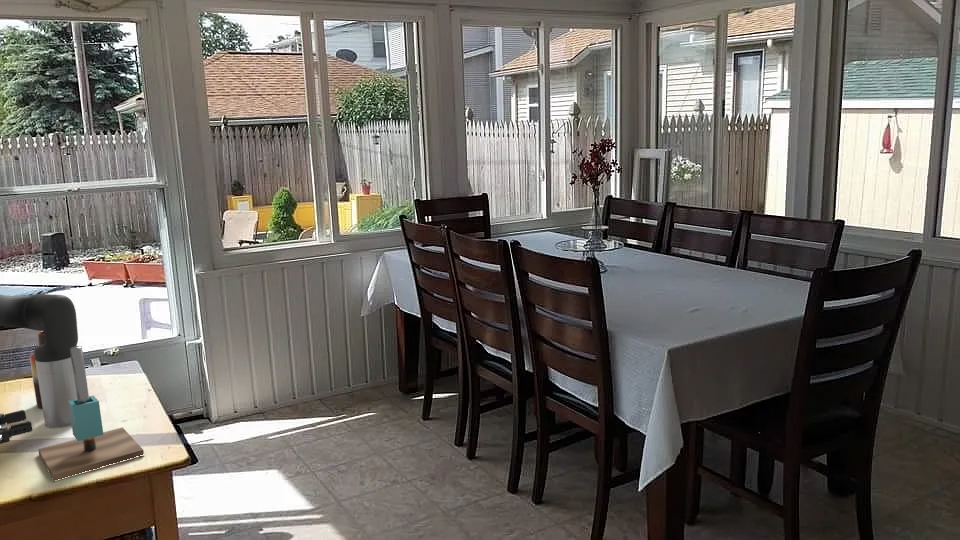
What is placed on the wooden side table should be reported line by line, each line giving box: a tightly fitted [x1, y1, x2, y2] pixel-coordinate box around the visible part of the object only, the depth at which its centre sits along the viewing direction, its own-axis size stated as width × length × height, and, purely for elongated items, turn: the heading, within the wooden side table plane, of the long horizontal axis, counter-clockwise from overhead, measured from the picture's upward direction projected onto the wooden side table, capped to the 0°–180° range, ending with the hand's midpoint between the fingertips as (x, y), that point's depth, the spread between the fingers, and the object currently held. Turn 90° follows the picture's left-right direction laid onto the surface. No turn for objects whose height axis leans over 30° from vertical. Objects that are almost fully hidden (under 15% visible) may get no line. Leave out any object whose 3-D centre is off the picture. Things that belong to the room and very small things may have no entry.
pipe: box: [70, 345, 96, 452], centre depth 165 cm, size 3×3×24 cm
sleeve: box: [68, 395, 104, 441], centre depth 165 cm, size 5×5×8 cm
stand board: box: [38, 427, 145, 482], centre depth 167 cm, size 18×18×2 cm
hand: (28, 420), depth 158 cm, fingers open, 8 cm apart
